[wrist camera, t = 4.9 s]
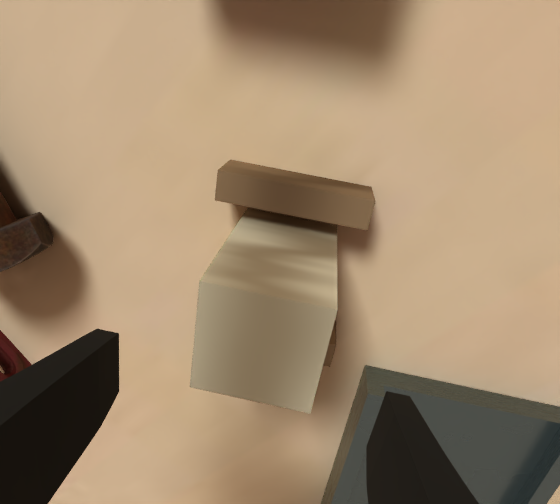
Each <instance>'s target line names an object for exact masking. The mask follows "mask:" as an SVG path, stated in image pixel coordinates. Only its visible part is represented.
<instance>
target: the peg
mask: <svg viewBox="0 0 560 504" xmlns="http://www.w3.org/2000/svg"><path fill="white" fill-rule="evenodd" d="M337 310H338V290H337V225H333V224H328V223H323V222H318V221H313V220H308V219H303V218H298V217H293V216H288V215H283V214H278V213H273V212H268V211H263V210H258V209H253V208H247V210H246V211H245V213H244V214H243V216H242V217H241V219H240V220H239V222H238V223H237V225H236V226H235V228H234V229H233V231H232V232H231V234H230V235H229V237H228V238H227V240H226V241H225V243H224V245H223V246H222V248H221V249H220V251H219V252H218V254H217V255H216V257H215V258H214V260H213V261H212V263H211V264H210V266H209V267H208V269H207V270H206V272H205V273H204V275H203V276H202V278H201V280H200V281H199V292H198V303H197V314H196V325H195V336H194V347H193V358H192V369H191V380H190V387H191V388H196V389H200V390H205V391H209V392H214V393H218V394H223V395H228V396H232V397H237V398H241V399H246V400H250V401H255V402H259V403H264V404H268V405H273V406H277V407H282V408H286V409H291V410H295V411H300V412H304V413H309V414H310V413H311V409H312V405H313V401H314V398H315V394H316V390H317V386H318V382H319V379H320V375H321V371H322V367H323V364H324V360H325V356H326V352H327V348H328V345H329V341H330V337H331V333H332V329H333V326H334V322H335V318H336V314H337Z"/></svg>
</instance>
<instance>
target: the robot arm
mask: <svg viewBox="0 0 560 504" xmlns="http://www.w3.org/2000/svg"><path fill="white" fill-rule="evenodd" d="M118 392H119V333H114V332H110V331H105V330H100V329H96V330H94V331H92V332H90V333H88V334H86V335H84V336H83V337H81V338H79V339H77V340H76V341H74V342H72V343H70V344H68V345H67V346H65V347H63V348H61V349H60V350H58V351H56V352H54V353H53V354H51V355H49V356H47V357H45V358H44V359H42V360H40V361H38V362H36V363H35V364H33V365H31V366H29V367H27V368H25V369H24V370H22V371H20V372H18V373H16V374H14V375H12V376H10V377H8V378H6V379H4V380H2V381H0V504H48V502H49V501H50V500H51V498H52V497H53V495H54V494H55V492H56V491H57V489H58V488H59V487H60V485H61V484H62V482H63V481H64V479H65V478H66V476H67V475H68V474H69V472H70V471H71V469H72V468H73V466H74V465H75V463H76V462H77V461H78V459H79V458H80V456H81V455H82V453H83V452H84V450H85V449H86V447H87V446H88V445H89V443H90V442H91V440H92V439H93V437H94V436H95V434H96V433H97V431H98V430H99V428H100V427H101V425H102V423H103V421H104V419H105V417H106V416H107V414H108V412H109V410H110V408H111V406H112V404H113V402H114V400H115V398H116V396H117V394H118ZM366 484H367V496H368V504H479V503H478V501H477V500H476V499H475V497H474V496H473V494H472V493H471V492H470V490H469V489H468V487H467V486H466V484H465V483H464V481H463V480H462V478H461V477H460V475H459V474H458V472H457V471H456V469H455V468H454V466H453V465H452V463H451V462H450V460H449V459H448V457H447V456H446V454H445V452H444V451H443V449H442V448H441V446H440V445H439V443H438V441H437V440H436V438H435V436H434V435H433V433H432V432H431V430H430V428H429V427H428V425H427V423H426V422H425V420H424V418H423V417H422V415H421V413H420V412H419V410H418V408H417V407H416V405H415V404H414V402H413V400H412V399H411V397H410V396H407V395H402V394H398V393H393V392H388V391H386V393H385V396H384V399H383V402H382V404H381V407H380V410H379V413H378V416H377V418H376V421H375V424H374V427H373V429H372V432H371V435H370V438H369V441H368V443H367V446H366Z"/></svg>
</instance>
